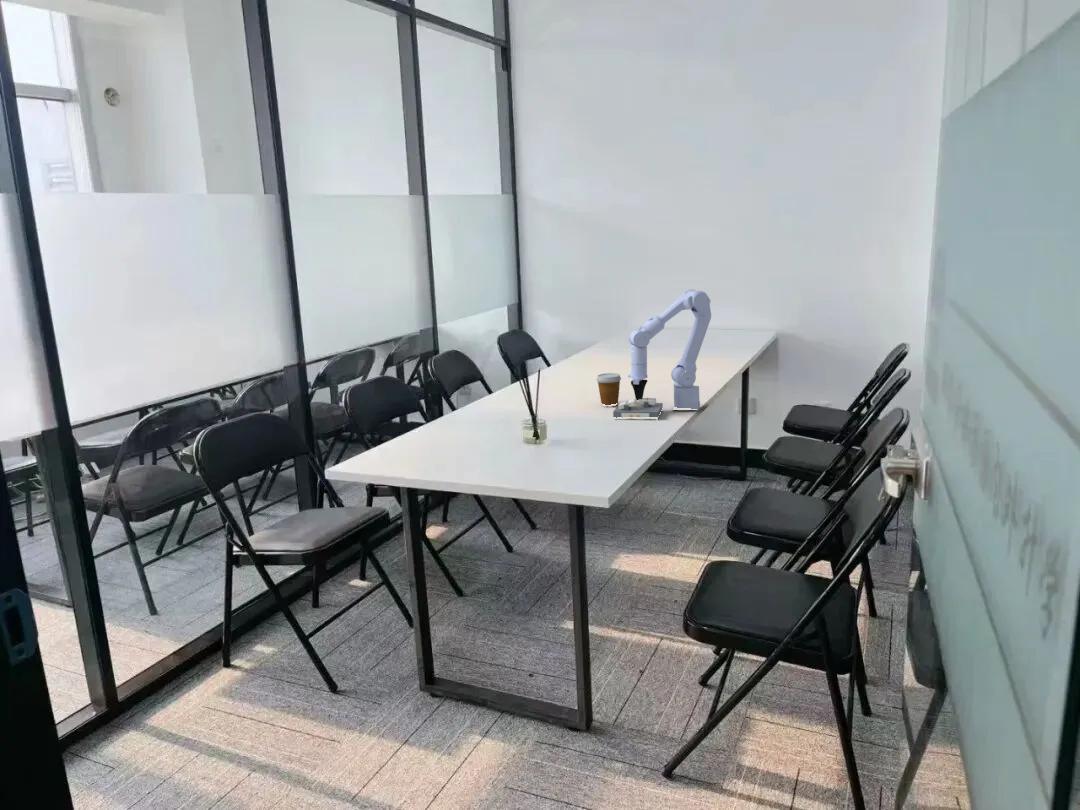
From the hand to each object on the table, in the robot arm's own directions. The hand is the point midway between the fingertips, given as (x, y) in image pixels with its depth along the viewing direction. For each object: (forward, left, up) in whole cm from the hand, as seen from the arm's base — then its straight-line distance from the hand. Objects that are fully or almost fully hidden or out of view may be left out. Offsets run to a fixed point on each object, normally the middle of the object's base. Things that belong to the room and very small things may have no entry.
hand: (639, 399), depth 290 cm
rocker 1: (+4, +5, -1) cm, 6 cm away
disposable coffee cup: (+14, -13, -5) cm, 19 cm away
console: (0, +2, -5) cm, 6 cm away
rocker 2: (-3, 0, -1) cm, 3 cm away
